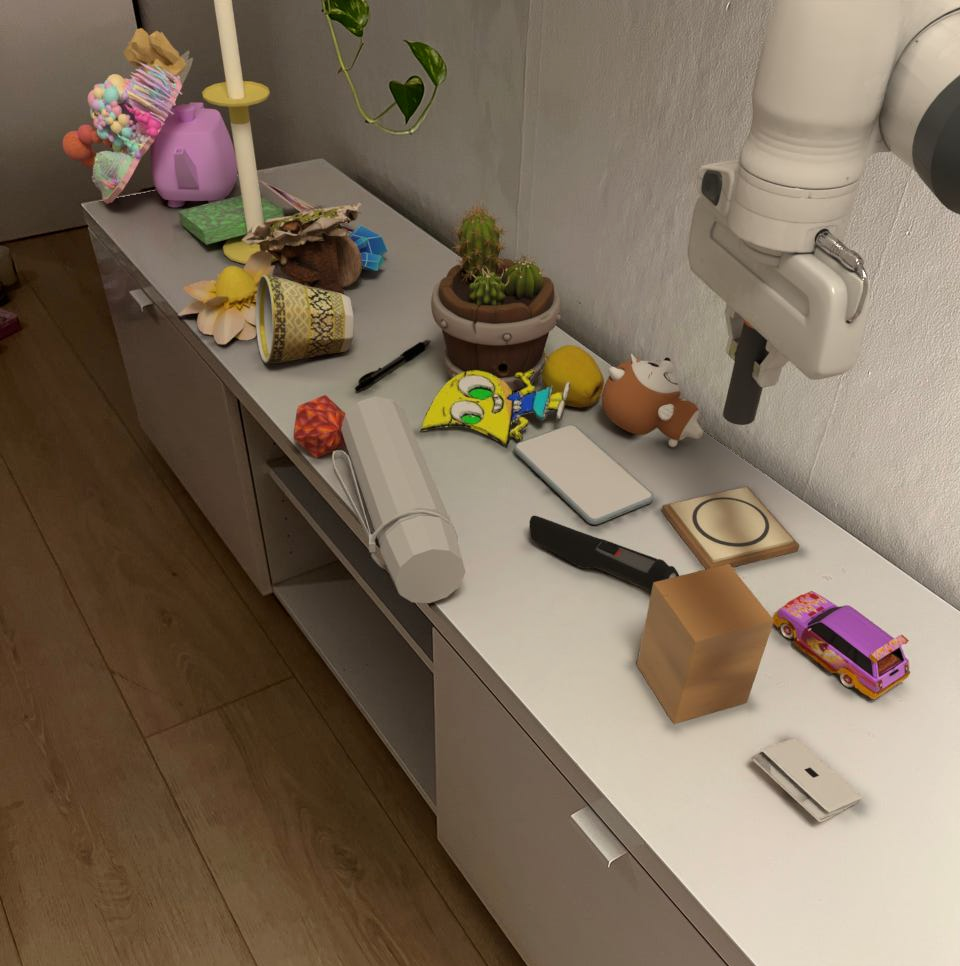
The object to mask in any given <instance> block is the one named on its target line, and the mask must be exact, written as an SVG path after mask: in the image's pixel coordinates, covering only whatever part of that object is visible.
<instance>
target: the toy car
mask: <svg viewBox="0 0 960 966" xmlns="http://www.w3.org/2000/svg"><path fill="white" fill-rule="evenodd" d="M772 616H773V617H772V618H773V619H774V623H773V625H775V626H776V627H778V628H779V630H780V633H781V634H782V636H783V637H784V638H785V639H788V640H792V639H793V641H792V642H793V644H794V645H795V646H796V647H798V648H799V649H800V650H802V651H803V652H804V653H805V654H807V655H808V656H809V657H810V658H811V659H813V660H814V661H816V662H817V663H818V664H819V665H821V666H822V667H824V669H825V670H827V671H828V672H830V673H832V674H833V673H835V674H839V675H838V677H839V680H840V682H841V684H842V685H843V686H844V687H846V688H848V689H853V688H854V689H856V690H858V691H859V692H861V693H862V694H863V695H865V696H867V697H869V698H870V699H872V700H875V699H877V698H879V697H881V696H882V695H884V694H885V693H887V692H889V691H890V690H891V689H893V688H894V687H896V686H898V685H899V684H901V683H902V682H903V681H905V680H906V679H908V677H910V674H911V671H910V668H911V667H910V660H909V659H908V658H907V657H906V655H905V652H904V650H903V647H902V646H903V645H906V644H908V642H909V641H910V640H909V639H908V638H907V637H906V636H905V635H903V634H901V635H898V636H896V637H895V638H894V637H893V636H892V635H891V634H889V633H888V632H886V631H885V630H884V629H882V628H881V627H880V626H878V625H877V624H875V623H874V622H873V621H872V620H870V619H869V618H867V617H866V616H865V615H863V613H861V612H859V611H858V610H857V609H855V608H854V607H852V606H851V605H846V604H845V605H842V606H838V605H836V604H835V603H833V602H832V601H831V600H829V599H827V598H825V596H823V595H821V594H819V593H817V592H816V591H814V590H810V591H808V592H806V593H804V594H800V595H798V596H796V597H794V598H792V599H791V600H790V601H787V603H786V604H785V605H783V606H782V607H780V608H779V609H778V610H777V611H776V612H774V613H773V615H772Z"/></svg>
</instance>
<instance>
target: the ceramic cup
mask: <svg viewBox="0 0 960 966" xmlns="http://www.w3.org/2000/svg"><path fill="white" fill-rule="evenodd" d="M354 317H355V316H354V311H353V306H352V301H351V298H350V297H349V296H347V295H346V294H345V295H343V294H341V293H337V292H333V291H328V290H323V289H319V288H315V287H310V286H307V285H306V284H304V285H302V284H299V283H296V282H294V281H293V280H290V279H287V278H286V279H283V278H279V277H274V276H269V275H262V276H261V278H260V280H259V283H258V288H257V296H256V330H257V333H256V339H257V346H258V350H259V354H260V357H261V360H262V361H263V363H264V364H269V365H270V364H278V363H279V364H280V363H284V362H292V361H296V360H300V359H301V360H302V359H304V358H305V359H306V358H313V357H318V356H325V355H331V354H338V353H344V352H345V353H346V352H347V351H349V349H350V347H351V344H352V341H353V337H354V320H355V319H354Z"/></svg>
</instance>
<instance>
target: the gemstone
mask: <svg viewBox="0 0 960 966" xmlns="http://www.w3.org/2000/svg"><path fill="white" fill-rule="evenodd" d="M353 230H354V231H353V232H351V233H350V234H349V235H348V236H347V235H346V236H336V238H335V240H336V249H337V258H338V266H339V273H338V280H339V281H338V283H339V284H340V285H341V286H342V288H347V287H349V286H352V285H353V284H354V283H355V282H357V280H358V279H359V277H360V276H361V274H362V271H363V270H365V271H369V272H377V271H378V270H379V269H380V268H381V266H382V265H383V264H384V263H385V261H386V259H385V258H384V257H383V256H384V255H385V254H387V253H389V250H388V247H387V245H386V243H385V240H384V238H383V236H382V235H380V234H379V233H376V232H375V231H373V230H371V229H369V228H367V227H365V226H363V225H362V224H360V225H359V226H357V227H356V228H355V229H353Z"/></svg>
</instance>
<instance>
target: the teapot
mask: <svg viewBox="0 0 960 966" xmlns="http://www.w3.org/2000/svg"><path fill="white" fill-rule="evenodd" d="M170 111H171V112H172V113H174V114H173V115H172V114H171V113H169V114H168V117H167V118H166V120H165V122H164V125H162V127H161V129H160V132H159V133H158V136H157V137H156V138H155V140H154V142H153V143H152V144H151V146H150V169H151V177H152V182H153V185H154V188H155V190H156V191H157V193H158V194H159V195H160V197H161V198H162V199H163V200H167V201H168V202H167V206H168V207H170V208H180V207H183V206H184V205H185V204H186V202H188V201H189V202H204V201H206V202H207V203H212V202H216V201H220V200H224V199H226V198H227V197H228V196H229V195H230V193H231V192H232V191H233V189H234V187H235V184H236V182H237V178H238V167H237V161H236V154H235V148H234V143H233V141H232V138H231V136H230V133H229V130H228V128H227V126H226V123H225V121H224V119H223V116H222V114H221V113H220V111H219V110H217V109H215V108H205V107H204V102H193V101H192V102H189V104H188V103H187V104H185V103H183V104H179V105H175V106H174V108H173V107H172V108H171V110H170Z"/></svg>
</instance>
